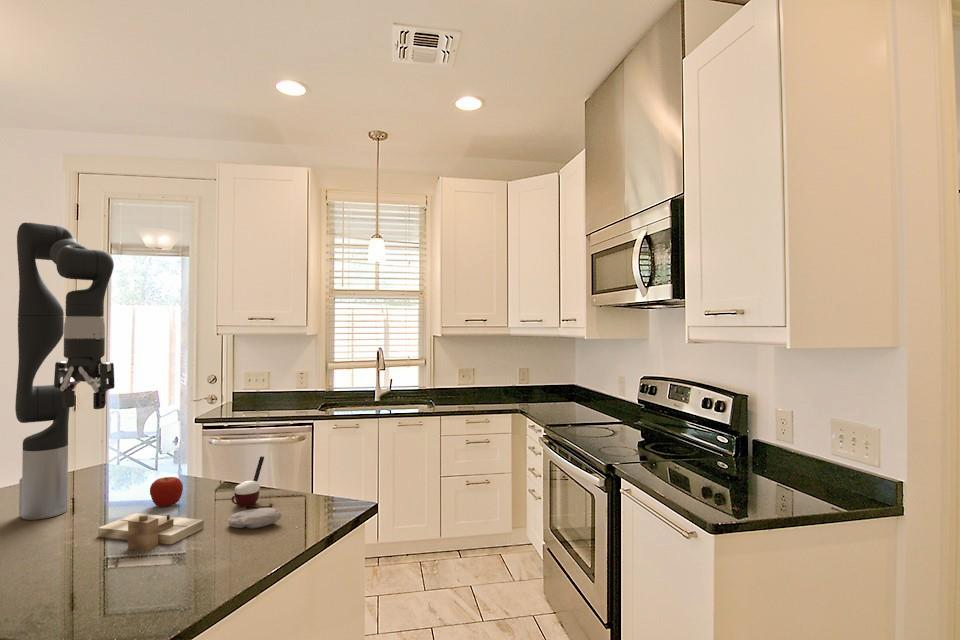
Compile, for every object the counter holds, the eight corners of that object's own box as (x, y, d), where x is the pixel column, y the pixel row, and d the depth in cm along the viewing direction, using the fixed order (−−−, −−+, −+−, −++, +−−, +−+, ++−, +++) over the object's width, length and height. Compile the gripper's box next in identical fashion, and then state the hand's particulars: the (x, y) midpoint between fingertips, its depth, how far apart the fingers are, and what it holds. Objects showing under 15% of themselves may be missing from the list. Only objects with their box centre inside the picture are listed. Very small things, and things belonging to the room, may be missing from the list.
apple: (159, 512, 141) (159, 482, 141) (143, 506, 145) (143, 477, 145) (188, 503, 147) (188, 475, 148) (172, 499, 152) (172, 471, 152)
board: (98, 536, 124) (98, 527, 124) (134, 521, 134) (134, 513, 134) (171, 544, 120) (171, 535, 120) (203, 528, 130) (203, 519, 130)
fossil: (218, 512, 129) (249, 502, 139) (218, 530, 129) (249, 519, 138) (259, 515, 125) (287, 504, 135) (259, 534, 125) (287, 522, 134)
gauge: (127, 548, 118) (128, 517, 118) (160, 533, 127) (161, 504, 127) (147, 550, 117) (147, 519, 117) (178, 535, 126) (179, 505, 126)
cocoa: (233, 511, 142) (231, 467, 142) (227, 504, 147) (226, 461, 147) (270, 503, 148) (269, 460, 148) (263, 496, 153) (262, 455, 153)
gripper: (43, 336, 120) (42, 409, 120) (94, 337, 117) (94, 411, 117) (75, 336, 128) (74, 404, 127) (124, 336, 124) (124, 406, 124)
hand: (83, 408), depth 122 cm, fingers open, 8 cm apart
